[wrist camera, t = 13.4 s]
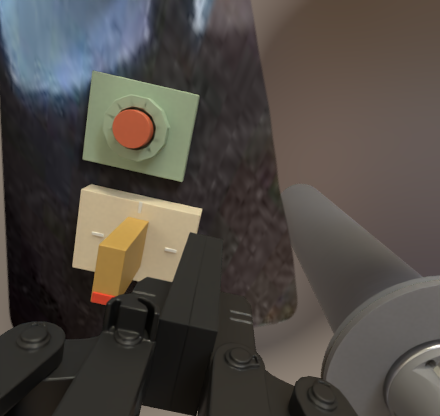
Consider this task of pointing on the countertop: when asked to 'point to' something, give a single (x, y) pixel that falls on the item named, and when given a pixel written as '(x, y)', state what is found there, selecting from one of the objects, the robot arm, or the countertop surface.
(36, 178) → the countertop surface
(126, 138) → the bell button
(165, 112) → the green push button box
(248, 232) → the countertop surface
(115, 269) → the thumbturn
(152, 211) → the plate
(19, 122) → the countertop surface
